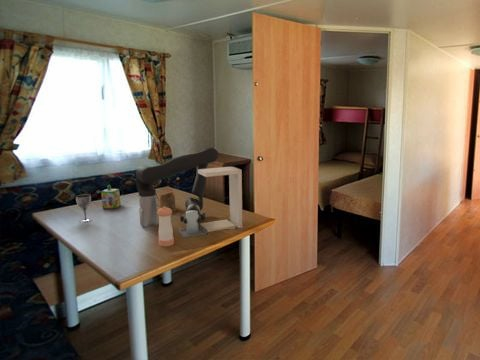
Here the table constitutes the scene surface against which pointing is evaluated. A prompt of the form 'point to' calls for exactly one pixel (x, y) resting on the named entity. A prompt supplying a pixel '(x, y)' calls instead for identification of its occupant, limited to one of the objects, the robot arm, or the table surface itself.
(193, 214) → the pale grey cylinder
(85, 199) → the wine glass
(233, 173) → the white c-shaped stand
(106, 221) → the table surface
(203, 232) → the tray
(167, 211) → the pepper shaker
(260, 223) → the table surface
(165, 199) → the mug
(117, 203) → the decorated lidded jar
